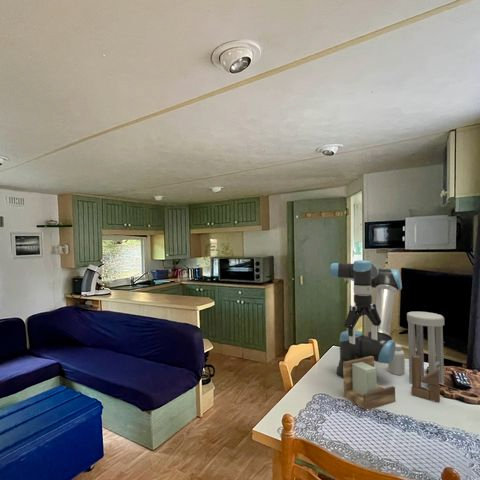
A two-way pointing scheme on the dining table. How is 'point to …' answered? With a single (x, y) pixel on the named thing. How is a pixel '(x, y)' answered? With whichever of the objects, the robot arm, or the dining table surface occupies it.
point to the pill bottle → (397, 361)
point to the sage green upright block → (364, 378)
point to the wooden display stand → (369, 399)
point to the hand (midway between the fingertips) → (363, 341)
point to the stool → (433, 356)
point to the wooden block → (424, 381)
